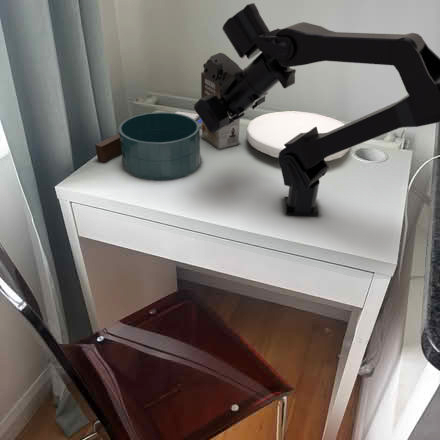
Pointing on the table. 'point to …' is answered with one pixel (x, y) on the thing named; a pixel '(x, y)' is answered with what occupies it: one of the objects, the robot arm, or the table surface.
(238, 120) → the coffee box
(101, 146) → the back rail
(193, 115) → the smartphone
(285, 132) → the plate
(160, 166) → the bowl
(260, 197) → the table surface
